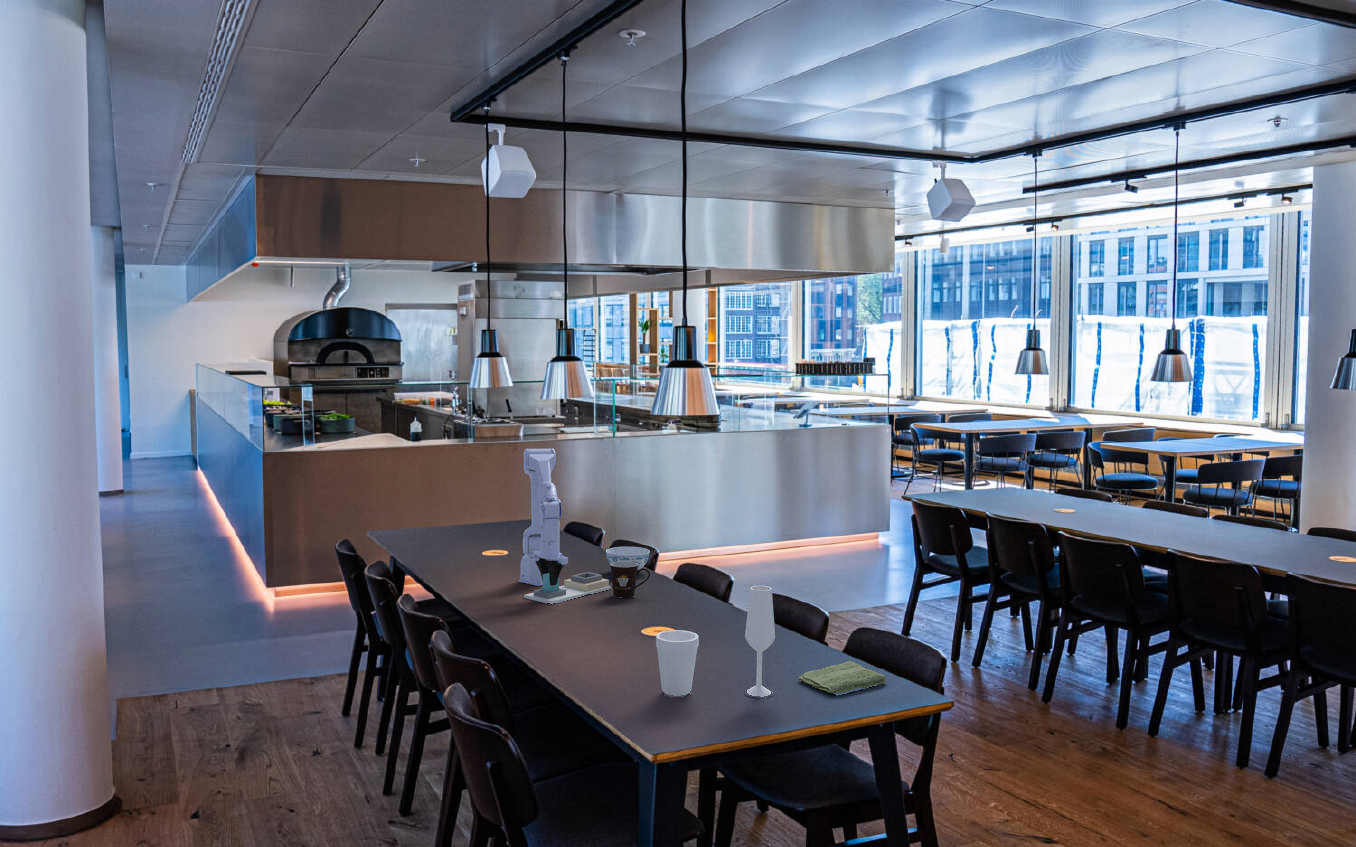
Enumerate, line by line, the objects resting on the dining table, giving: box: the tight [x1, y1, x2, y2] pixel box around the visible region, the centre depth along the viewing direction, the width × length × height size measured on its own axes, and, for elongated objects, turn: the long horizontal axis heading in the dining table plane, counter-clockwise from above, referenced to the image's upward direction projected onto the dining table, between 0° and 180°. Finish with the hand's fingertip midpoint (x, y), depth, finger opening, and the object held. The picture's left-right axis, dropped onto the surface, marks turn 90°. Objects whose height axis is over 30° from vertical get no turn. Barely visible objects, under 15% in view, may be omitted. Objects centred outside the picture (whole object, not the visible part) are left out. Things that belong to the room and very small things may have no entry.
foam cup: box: [655, 629, 700, 696], centre depth 228 cm, size 10×9×13 cm
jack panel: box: [524, 571, 612, 605], centre depth 319 cm, size 12×26×4 cm, turn 141°
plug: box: [542, 573, 560, 593], centre depth 313 cm, size 3×4×6 cm
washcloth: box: [797, 660, 887, 694], centre depth 237 cm, size 13×18×3 cm
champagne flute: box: [744, 585, 776, 697], centre depth 228 cm, size 7×7×24 cm
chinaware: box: [605, 546, 651, 570], centre depth 350 cm, size 15×15×8 cm
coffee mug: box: [609, 561, 651, 599], centre depth 317 cm, size 12×9×10 cm
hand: (549, 584), depth 313 cm, fingers closed on plug, 3 cm apart
